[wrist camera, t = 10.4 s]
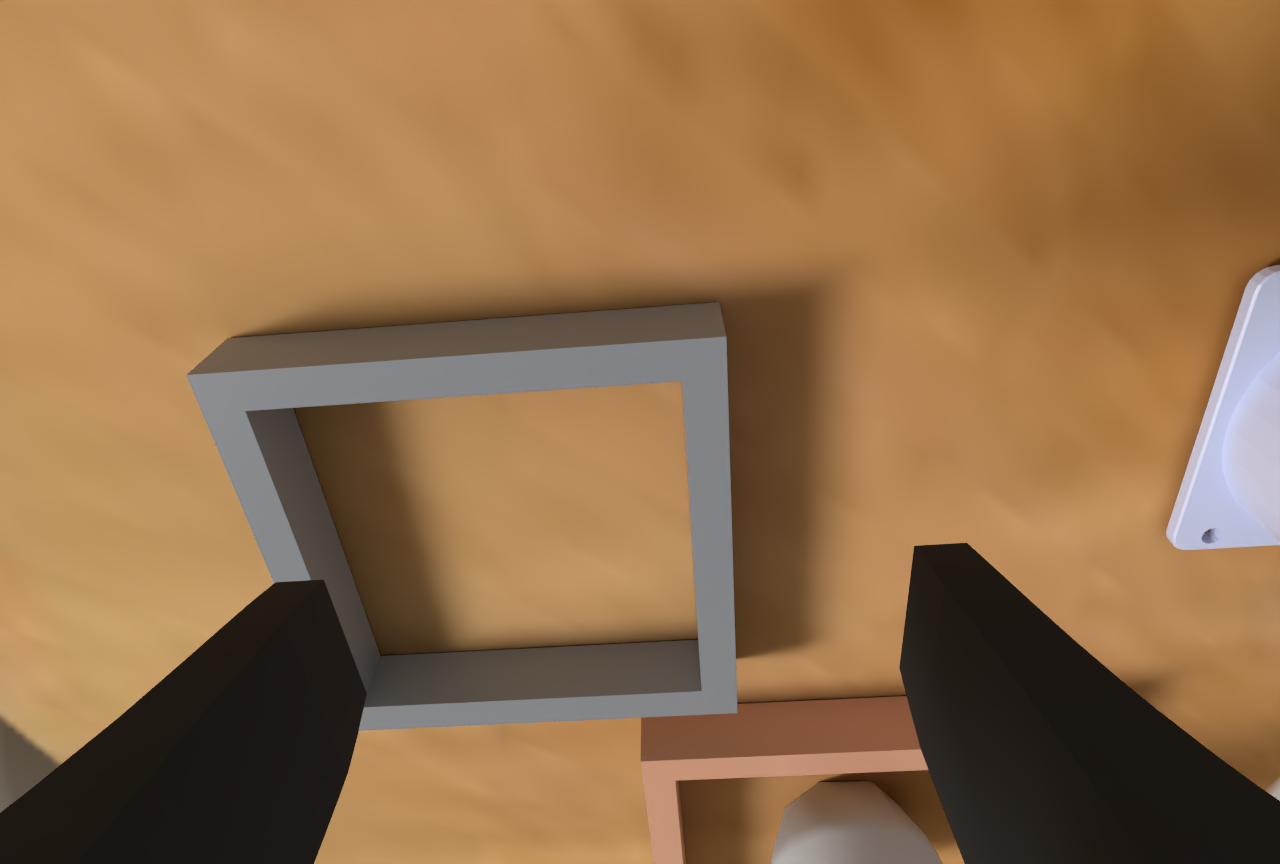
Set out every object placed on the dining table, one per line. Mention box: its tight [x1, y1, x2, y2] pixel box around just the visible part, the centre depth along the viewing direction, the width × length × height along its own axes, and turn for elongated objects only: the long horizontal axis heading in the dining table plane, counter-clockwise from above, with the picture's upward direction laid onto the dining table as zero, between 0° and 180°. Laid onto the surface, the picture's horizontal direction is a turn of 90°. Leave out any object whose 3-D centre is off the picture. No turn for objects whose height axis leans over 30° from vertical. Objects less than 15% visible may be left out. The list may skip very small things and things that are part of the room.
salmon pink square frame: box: [641, 696, 928, 864], centre depth 28 cm, size 14×14×2 cm
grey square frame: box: [187, 302, 737, 731], centre depth 21 cm, size 12×12×2 cm
